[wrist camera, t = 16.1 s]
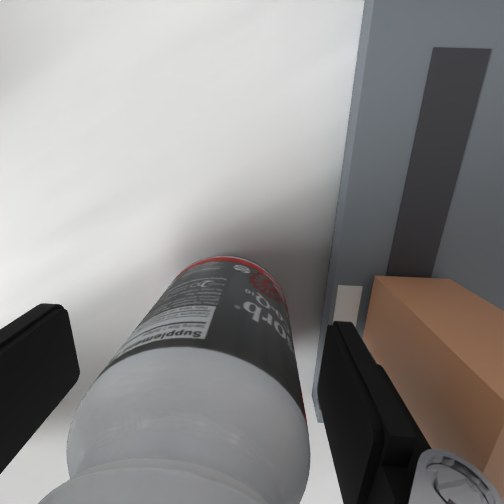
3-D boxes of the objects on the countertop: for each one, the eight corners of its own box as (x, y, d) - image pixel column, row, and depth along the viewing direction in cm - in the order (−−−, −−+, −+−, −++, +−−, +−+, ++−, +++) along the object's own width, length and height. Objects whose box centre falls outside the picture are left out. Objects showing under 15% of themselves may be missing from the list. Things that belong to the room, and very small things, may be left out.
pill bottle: (303, 334, 13) (406, 749, 4) (203, 369, 14) (86, 777, 5) (256, 231, 12) (236, 503, 2) (147, 278, 13) (-191, 613, 3)
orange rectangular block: (374, 275, 11) (511, 407, 5) (450, 278, 11) (681, 417, 5) (362, 338, 12) (464, 514, 6) (431, 342, 12) (606, 523, 6)
